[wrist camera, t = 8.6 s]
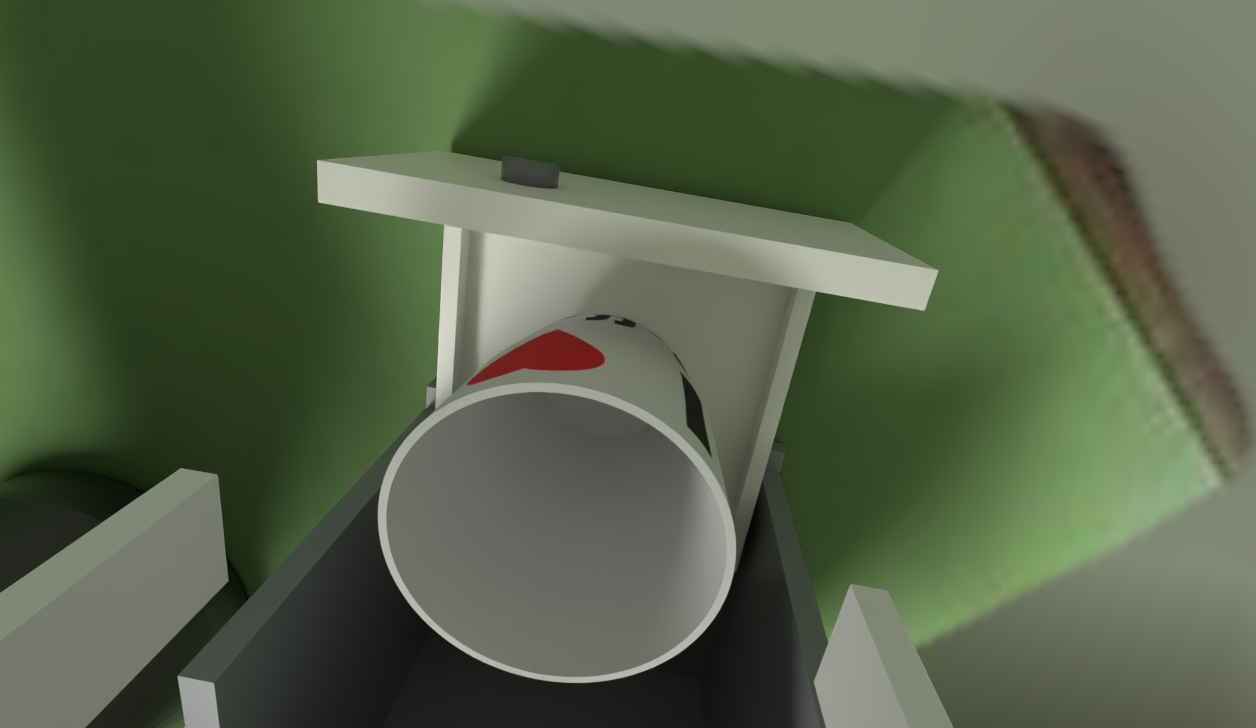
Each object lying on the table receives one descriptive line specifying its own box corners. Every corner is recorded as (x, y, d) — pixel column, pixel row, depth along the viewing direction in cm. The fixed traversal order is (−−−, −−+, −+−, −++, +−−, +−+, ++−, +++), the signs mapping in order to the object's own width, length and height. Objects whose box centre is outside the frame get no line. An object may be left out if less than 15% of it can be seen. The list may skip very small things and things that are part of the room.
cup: (750, 323, 22) (801, 468, 12) (665, 500, 25) (654, 725, 15) (537, 239, 21) (422, 324, 12) (476, 430, 24) (346, 617, 15)
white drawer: (757, 537, 27) (786, 694, 19) (426, 475, 27) (329, 606, 20) (855, 205, 21) (948, 245, 14) (441, 133, 22) (316, 133, 14)
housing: (713, 679, 30) (740, 1143, 16) (422, 623, 31) (206, 1033, 17) (782, 443, 25) (905, 822, 11) (434, 379, 26) (139, 672, 12)
